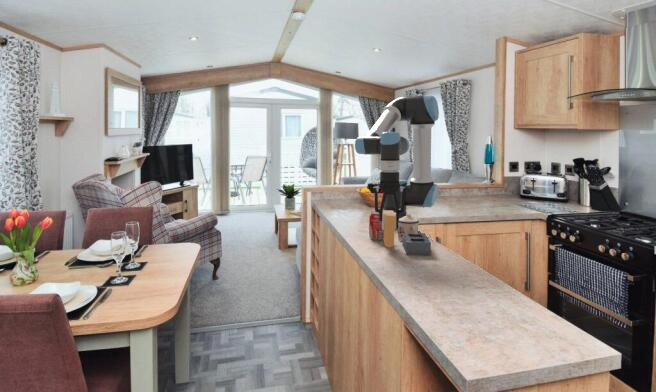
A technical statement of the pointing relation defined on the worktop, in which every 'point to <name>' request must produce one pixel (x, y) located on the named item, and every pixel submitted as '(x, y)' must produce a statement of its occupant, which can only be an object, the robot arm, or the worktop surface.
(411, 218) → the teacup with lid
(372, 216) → the soda can
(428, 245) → the gray slotted block
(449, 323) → the worktop surface
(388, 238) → the peach eraser-shaped slab
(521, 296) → the worktop surface
